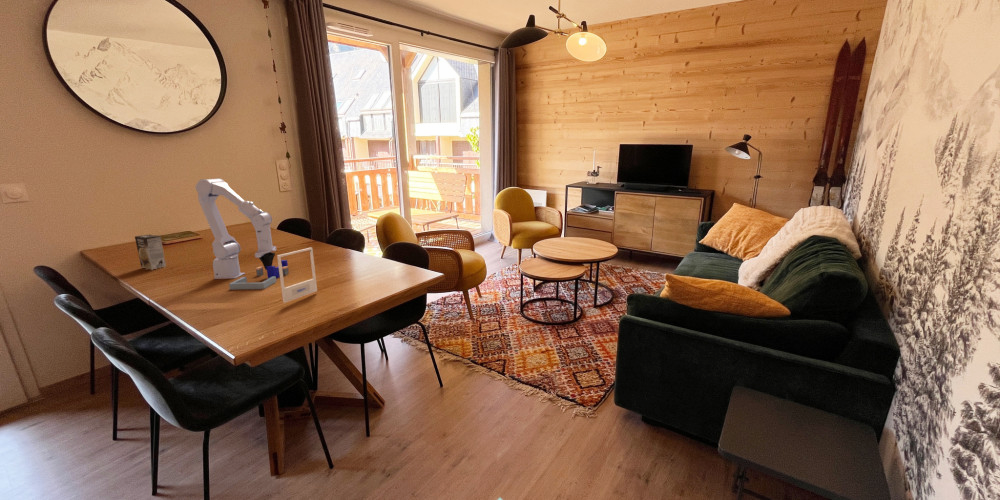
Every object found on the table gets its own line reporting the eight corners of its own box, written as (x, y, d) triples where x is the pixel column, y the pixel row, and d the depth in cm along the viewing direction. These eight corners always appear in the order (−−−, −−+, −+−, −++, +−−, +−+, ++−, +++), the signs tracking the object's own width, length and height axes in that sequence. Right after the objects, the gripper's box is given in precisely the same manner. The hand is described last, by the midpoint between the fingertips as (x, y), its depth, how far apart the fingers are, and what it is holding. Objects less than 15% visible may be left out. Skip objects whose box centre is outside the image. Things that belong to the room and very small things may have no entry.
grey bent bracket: (229, 289, 164) (228, 283, 163) (243, 282, 174) (243, 276, 173) (264, 288, 164) (263, 283, 164) (276, 281, 174) (275, 276, 174)
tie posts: (256, 276, 183) (255, 268, 182) (260, 274, 186) (259, 266, 185) (285, 275, 183) (284, 267, 183) (288, 273, 186) (288, 266, 186)
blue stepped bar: (279, 272, 189) (277, 260, 188) (288, 272, 189) (287, 260, 188) (264, 279, 178) (263, 266, 176) (275, 279, 178) (273, 266, 176)
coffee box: (140, 268, 196) (133, 236, 192) (155, 265, 202) (149, 234, 198) (152, 270, 193) (145, 237, 189) (167, 267, 198) (160, 235, 195)
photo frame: (285, 302, 148) (279, 255, 144) (283, 302, 149) (277, 255, 145) (317, 291, 161) (312, 247, 157) (315, 290, 162) (310, 247, 158)
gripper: (265, 243, 171) (269, 273, 174) (281, 236, 185) (285, 265, 188) (248, 243, 171) (252, 274, 174) (265, 236, 185) (269, 265, 188)
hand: (268, 269), depth 181 cm, fingers closed
